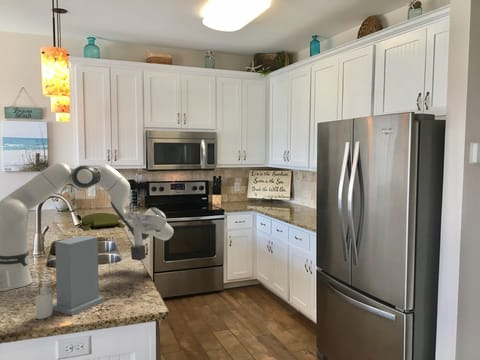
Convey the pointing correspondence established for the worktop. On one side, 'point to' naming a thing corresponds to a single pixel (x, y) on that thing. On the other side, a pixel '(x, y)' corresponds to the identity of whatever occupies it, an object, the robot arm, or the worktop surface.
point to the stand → (77, 274)
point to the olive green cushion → (100, 220)
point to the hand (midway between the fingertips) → (133, 213)
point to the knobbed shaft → (137, 240)
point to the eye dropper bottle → (44, 303)
